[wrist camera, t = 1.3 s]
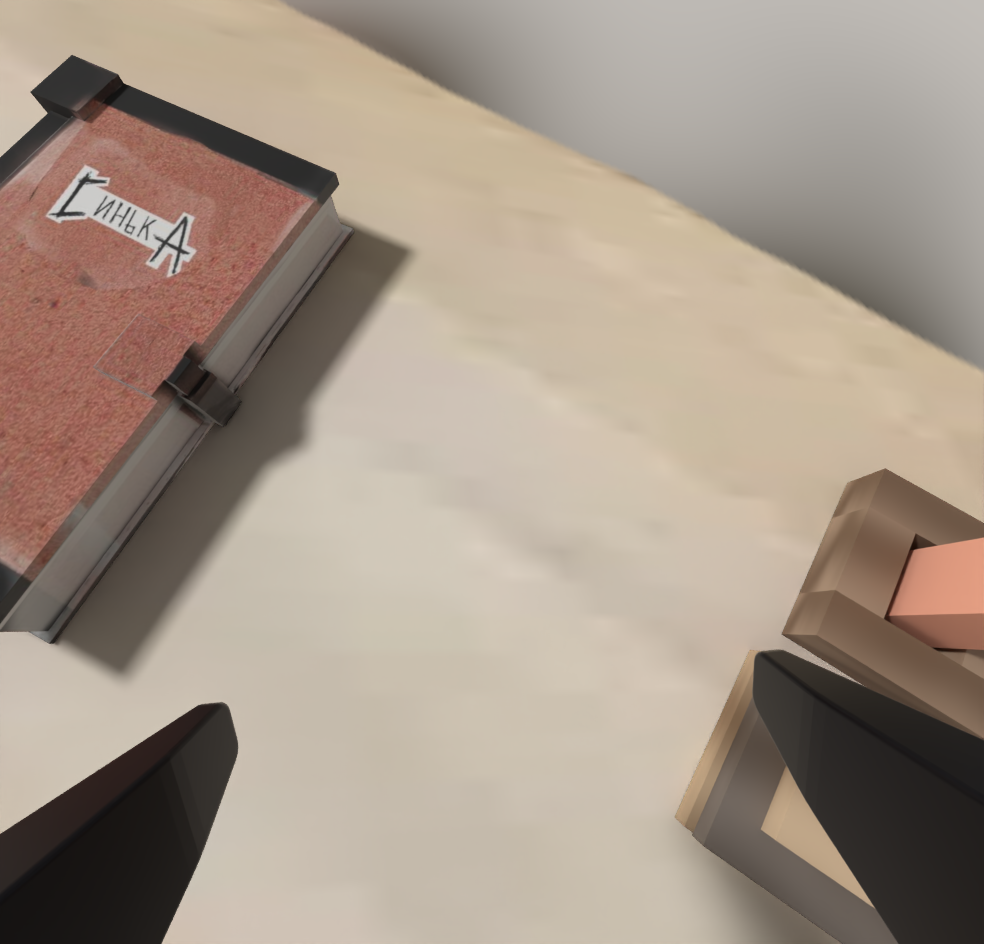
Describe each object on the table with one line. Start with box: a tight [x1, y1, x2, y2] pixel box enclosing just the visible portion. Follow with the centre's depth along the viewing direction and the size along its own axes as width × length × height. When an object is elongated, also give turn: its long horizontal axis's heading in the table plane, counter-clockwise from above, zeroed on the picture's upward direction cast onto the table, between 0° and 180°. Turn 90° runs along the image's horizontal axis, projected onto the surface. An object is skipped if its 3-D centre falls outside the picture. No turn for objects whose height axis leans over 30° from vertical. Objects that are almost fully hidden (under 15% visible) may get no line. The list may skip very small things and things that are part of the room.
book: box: [0, 55, 354, 644], centre depth 25 cm, size 26×18×5 cm
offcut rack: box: [675, 469, 984, 944], centre depth 21 cm, size 19×10×3 cm, turn 147°
